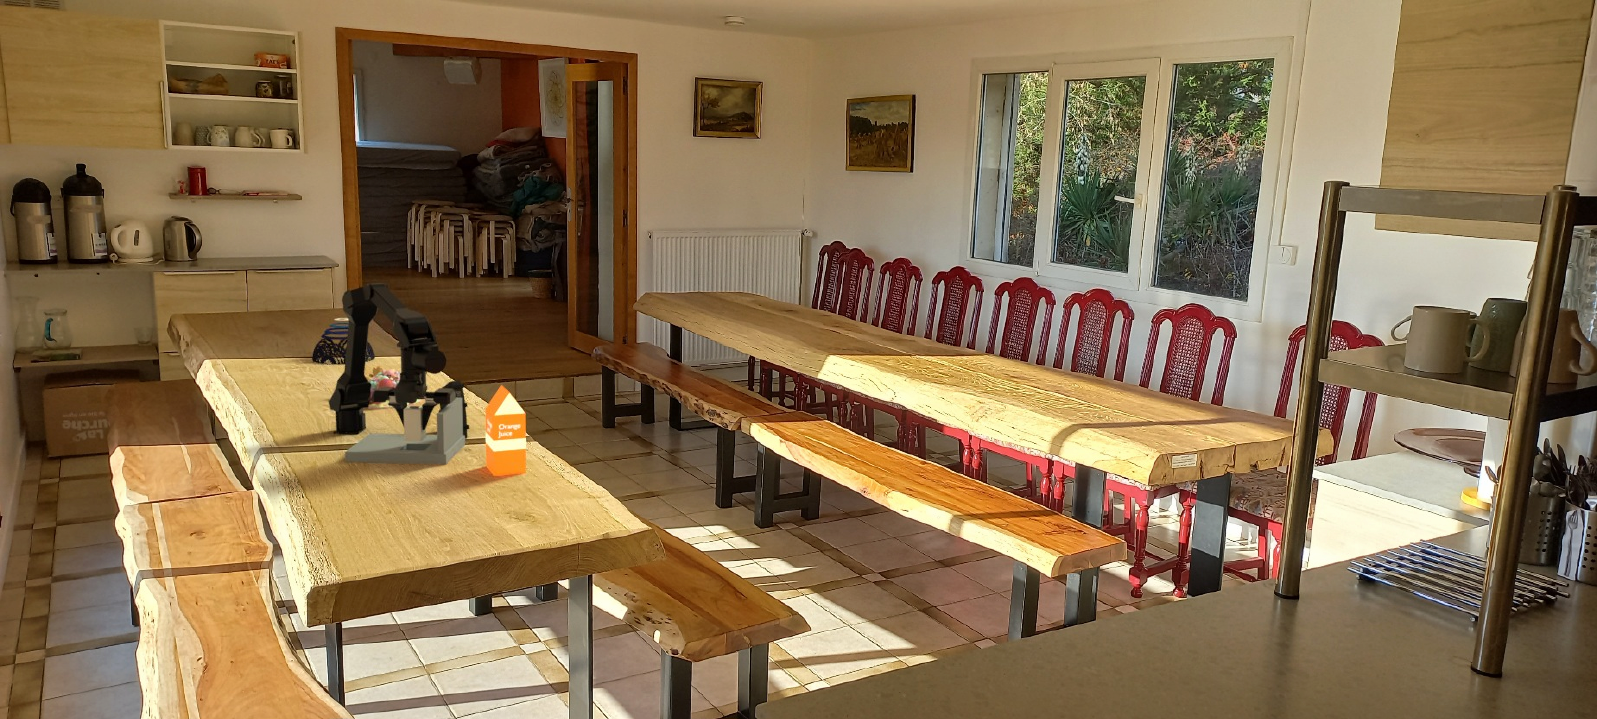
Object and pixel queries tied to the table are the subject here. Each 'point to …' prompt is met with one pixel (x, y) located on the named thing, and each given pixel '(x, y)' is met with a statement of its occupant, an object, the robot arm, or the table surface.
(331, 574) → the table surface
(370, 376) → the candy landscape model
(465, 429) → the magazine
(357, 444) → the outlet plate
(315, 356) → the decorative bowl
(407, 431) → the block
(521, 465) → the orange juice
